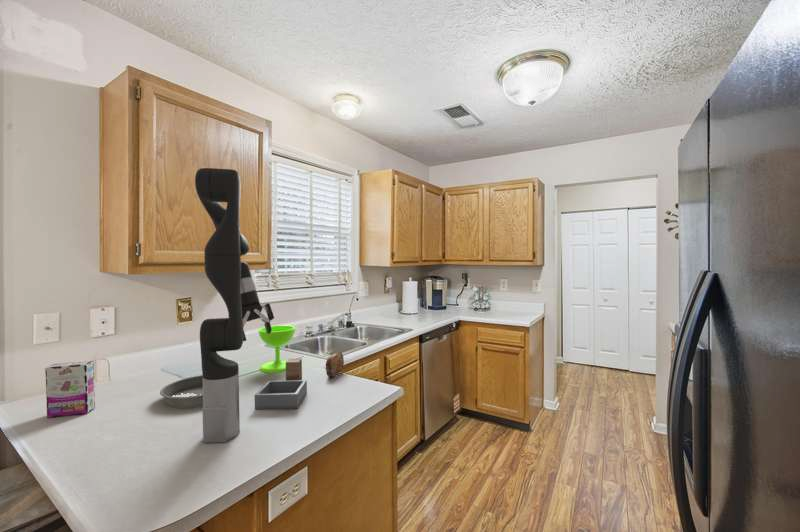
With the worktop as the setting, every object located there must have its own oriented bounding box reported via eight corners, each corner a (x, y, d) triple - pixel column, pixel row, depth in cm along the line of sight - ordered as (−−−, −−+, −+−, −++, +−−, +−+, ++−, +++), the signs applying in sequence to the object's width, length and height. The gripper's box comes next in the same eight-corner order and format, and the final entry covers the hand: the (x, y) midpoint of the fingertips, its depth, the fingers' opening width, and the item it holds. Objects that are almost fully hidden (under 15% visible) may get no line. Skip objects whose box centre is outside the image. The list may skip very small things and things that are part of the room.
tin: (331, 379, 150) (331, 359, 150) (324, 379, 151) (324, 359, 151) (344, 368, 165) (344, 350, 165) (337, 368, 166) (337, 350, 166)
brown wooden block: (299, 387, 141) (298, 362, 141) (286, 387, 141) (285, 362, 141) (302, 383, 146) (301, 358, 146) (289, 383, 146) (289, 358, 146)
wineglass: (258, 365, 172) (257, 327, 172) (292, 360, 179) (292, 324, 179) (260, 374, 158) (259, 333, 157) (298, 369, 164) (297, 330, 164)
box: (297, 409, 121) (297, 394, 121) (254, 410, 121) (254, 395, 120) (306, 393, 135) (306, 380, 135) (268, 394, 135) (268, 380, 134)
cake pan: (164, 391, 139) (164, 380, 139) (234, 381, 150) (234, 370, 150) (155, 416, 117) (155, 402, 117) (238, 401, 129) (238, 389, 128)
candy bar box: (96, 408, 124) (94, 360, 123) (87, 414, 119) (86, 364, 119) (56, 412, 121) (54, 363, 120) (45, 418, 116) (44, 367, 116)
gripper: (226, 295, 120) (239, 343, 119) (268, 285, 129) (280, 330, 128) (220, 298, 125) (233, 344, 125) (261, 289, 135) (272, 331, 134)
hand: (257, 337), depth 127 cm, fingers open, 8 cm apart
